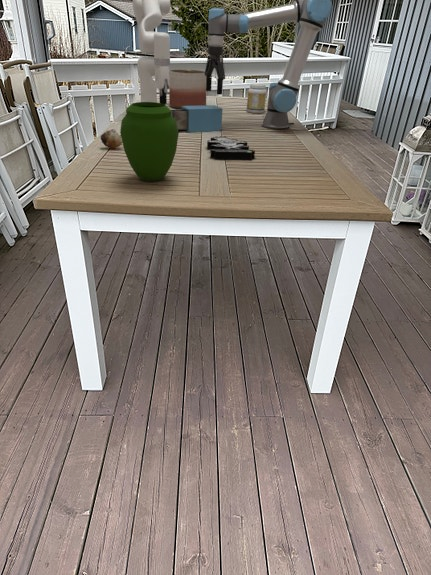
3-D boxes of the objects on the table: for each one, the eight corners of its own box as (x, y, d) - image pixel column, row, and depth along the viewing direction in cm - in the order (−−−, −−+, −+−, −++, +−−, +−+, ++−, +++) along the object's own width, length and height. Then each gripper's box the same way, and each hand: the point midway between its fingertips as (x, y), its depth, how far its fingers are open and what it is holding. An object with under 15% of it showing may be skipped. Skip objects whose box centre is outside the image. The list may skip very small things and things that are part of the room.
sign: (211, 151, 170) (204, 135, 195) (211, 159, 172) (203, 142, 197) (256, 152, 172) (243, 136, 198) (255, 159, 174) (242, 143, 199)
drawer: (159, 131, 209) (158, 112, 204) (154, 127, 216) (153, 109, 211) (201, 129, 218) (202, 110, 213) (195, 126, 225) (195, 107, 220)
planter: (200, 104, 298) (200, 69, 286) (210, 110, 277) (212, 73, 266) (165, 104, 290) (165, 69, 278) (174, 110, 270) (173, 72, 258)
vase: (131, 189, 135) (125, 110, 122) (118, 172, 150) (112, 100, 137) (186, 184, 142) (187, 109, 129) (169, 168, 157) (167, 99, 144)
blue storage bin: (188, 132, 215) (189, 109, 209) (181, 128, 223) (181, 106, 217) (221, 130, 222) (222, 108, 216) (213, 126, 230) (214, 105, 224)
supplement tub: (247, 109, 285) (249, 83, 276) (264, 111, 283) (267, 84, 274) (245, 112, 274) (248, 84, 265) (264, 114, 273) (266, 86, 264)
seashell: (124, 147, 182) (123, 128, 178) (122, 150, 177) (120, 130, 173) (103, 146, 182) (101, 127, 178) (100, 149, 177) (98, 129, 173)
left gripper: (150, 61, 202) (151, 101, 212) (159, 64, 191) (160, 106, 200) (164, 61, 205) (165, 101, 214) (174, 64, 193) (175, 106, 203)
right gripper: (198, 44, 212) (198, 89, 223) (219, 46, 193) (217, 96, 204) (212, 44, 215) (210, 89, 226) (233, 47, 196) (230, 95, 207)
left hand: (163, 103), depth 207 cm, fingers closed
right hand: (213, 92), depth 215 cm, fingers open, 13 cm apart
